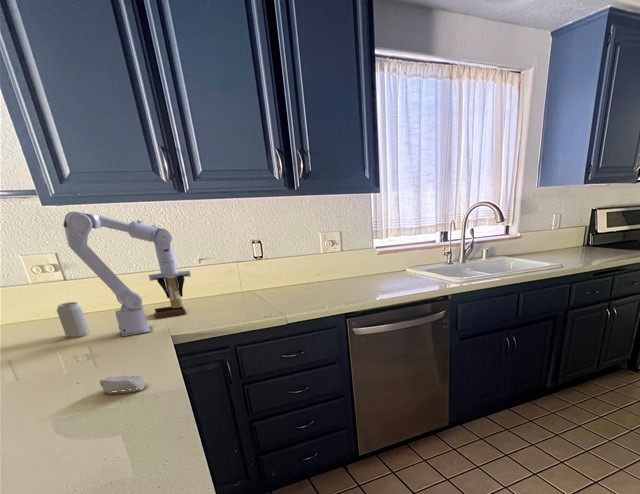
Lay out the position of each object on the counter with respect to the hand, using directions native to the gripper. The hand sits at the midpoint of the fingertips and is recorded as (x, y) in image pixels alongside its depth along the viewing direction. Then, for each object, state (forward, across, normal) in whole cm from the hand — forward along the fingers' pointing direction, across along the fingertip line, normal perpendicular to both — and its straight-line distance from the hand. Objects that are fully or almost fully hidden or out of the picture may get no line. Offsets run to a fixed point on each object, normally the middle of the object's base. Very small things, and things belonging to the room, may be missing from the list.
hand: (175, 296), depth 168 cm
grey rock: (+11, +20, +61) cm, 65 cm away
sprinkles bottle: (+4, 0, 0) cm, 4 cm away
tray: (+10, +3, -16) cm, 20 cm away
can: (+11, +36, -4) cm, 37 cm away
